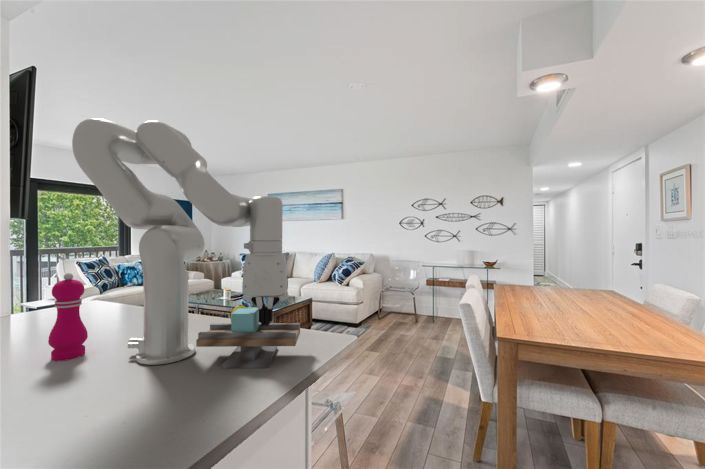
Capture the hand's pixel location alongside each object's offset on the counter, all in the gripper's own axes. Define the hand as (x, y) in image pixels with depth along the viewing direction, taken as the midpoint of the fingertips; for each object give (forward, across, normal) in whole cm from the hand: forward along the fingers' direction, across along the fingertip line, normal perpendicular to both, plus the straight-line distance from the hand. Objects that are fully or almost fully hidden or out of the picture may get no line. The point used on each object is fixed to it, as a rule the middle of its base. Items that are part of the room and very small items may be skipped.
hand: (265, 324), depth 81 cm
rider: (+2, -5, 0) cm, 5 cm away
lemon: (+8, -12, +22) cm, 27 cm away
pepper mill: (+8, -47, +2) cm, 48 cm away
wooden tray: (+8, -3, 0) cm, 9 cm away
